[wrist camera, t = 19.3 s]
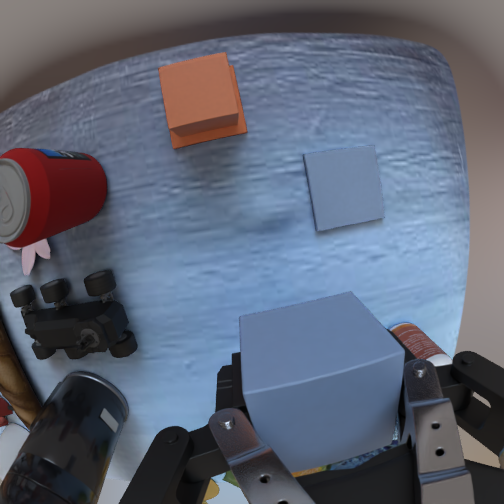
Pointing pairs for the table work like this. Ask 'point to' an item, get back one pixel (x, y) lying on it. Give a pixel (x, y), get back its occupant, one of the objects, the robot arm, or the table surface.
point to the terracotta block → (199, 95)
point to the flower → (33, 254)
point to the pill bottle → (420, 344)
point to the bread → (16, 383)
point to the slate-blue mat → (344, 186)
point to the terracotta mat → (217, 133)
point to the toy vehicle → (76, 320)
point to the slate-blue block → (320, 380)
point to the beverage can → (47, 193)
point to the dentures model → (4, 412)
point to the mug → (10, 446)
